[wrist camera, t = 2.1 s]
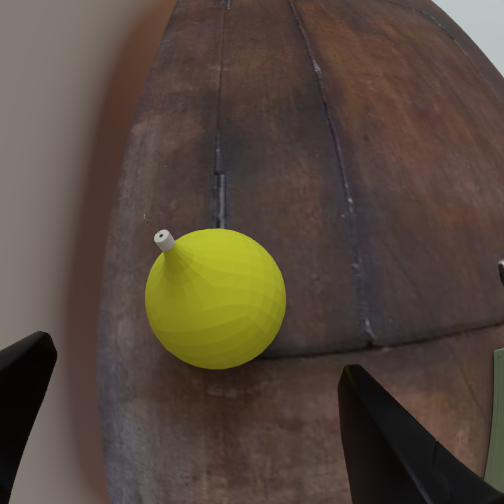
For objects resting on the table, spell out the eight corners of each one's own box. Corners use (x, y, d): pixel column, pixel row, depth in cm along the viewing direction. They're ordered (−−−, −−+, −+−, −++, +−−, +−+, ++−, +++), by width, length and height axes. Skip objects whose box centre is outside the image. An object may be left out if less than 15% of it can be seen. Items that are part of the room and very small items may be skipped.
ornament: (169, 256, 20) (115, 165, 11) (277, 258, 20) (302, 163, 11) (162, 365, 17) (81, 359, 8) (278, 369, 18) (313, 373, 8)
